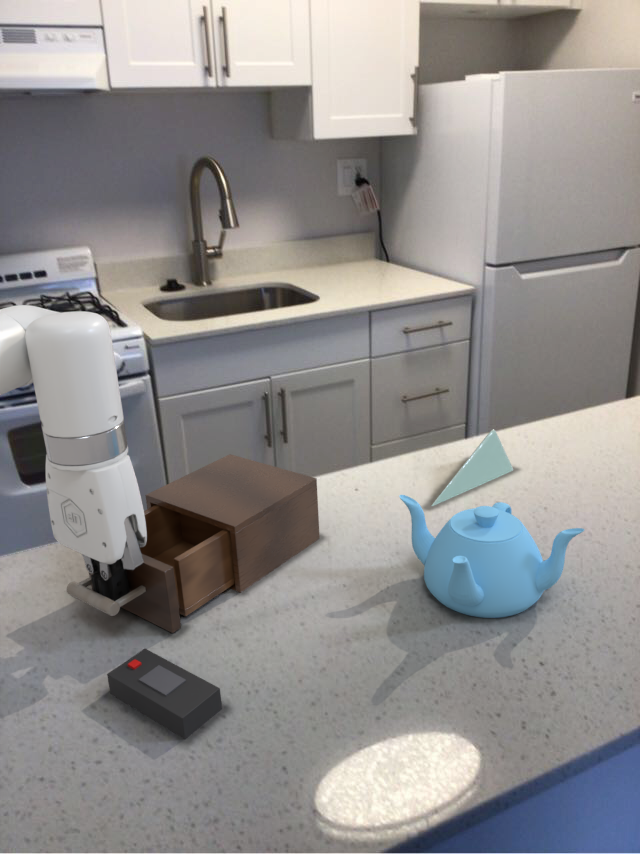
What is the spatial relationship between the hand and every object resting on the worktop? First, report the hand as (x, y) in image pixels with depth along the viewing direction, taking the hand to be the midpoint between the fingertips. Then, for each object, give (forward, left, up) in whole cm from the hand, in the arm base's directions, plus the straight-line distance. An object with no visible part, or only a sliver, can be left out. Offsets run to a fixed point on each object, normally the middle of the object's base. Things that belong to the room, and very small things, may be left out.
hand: (113, 603), depth 79 cm
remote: (+14, 0, -3) cm, 15 cm away
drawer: (-2, +6, -2) cm, 7 cm away
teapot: (+18, +35, -3) cm, 39 cm away
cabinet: (-7, +18, -3) cm, 19 cm away
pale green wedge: (-2, +53, -3) cm, 53 cm away
